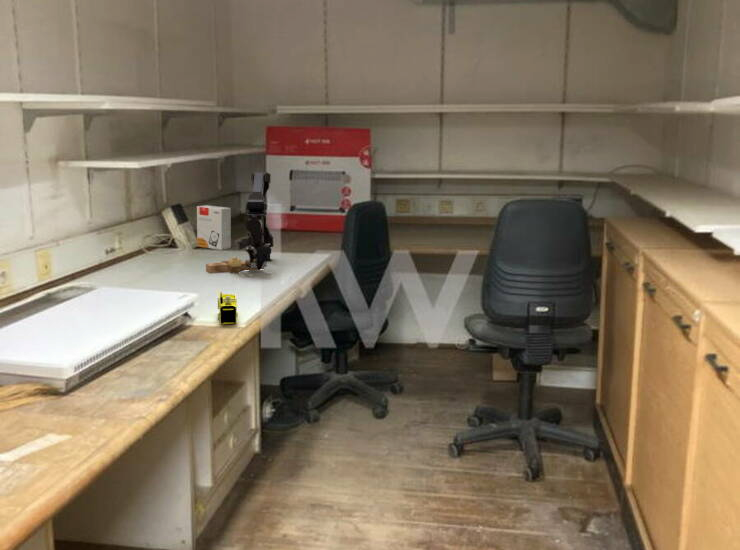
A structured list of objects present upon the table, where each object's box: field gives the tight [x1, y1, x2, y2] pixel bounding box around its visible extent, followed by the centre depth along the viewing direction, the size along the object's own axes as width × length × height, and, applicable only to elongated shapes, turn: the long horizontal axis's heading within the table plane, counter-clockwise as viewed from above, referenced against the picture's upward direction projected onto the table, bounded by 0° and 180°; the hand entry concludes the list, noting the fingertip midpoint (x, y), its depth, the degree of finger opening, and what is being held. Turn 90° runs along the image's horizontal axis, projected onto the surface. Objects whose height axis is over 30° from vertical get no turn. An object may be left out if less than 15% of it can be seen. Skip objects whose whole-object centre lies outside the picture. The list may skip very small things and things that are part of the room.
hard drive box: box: [196, 204, 232, 251], centre depth 339 cm, size 16×8×20 cm, turn 62°
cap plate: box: [245, 259, 268, 268], centre depth 282 cm, size 7×6×3 cm
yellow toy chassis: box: [217, 288, 238, 326], centre depth 213 cm, size 16×6×8 cm, turn 12°
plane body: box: [205, 260, 265, 274], centre depth 287 cm, size 23×12×5 cm, turn 119°
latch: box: [227, 256, 242, 267], centre depth 282 cm, size 4×5×3 cm
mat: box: [240, 269, 272, 277], centre depth 282 cm, size 10×8×1 cm
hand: (256, 268), depth 282 cm, fingers closed on cap plate, 6 cm apart
